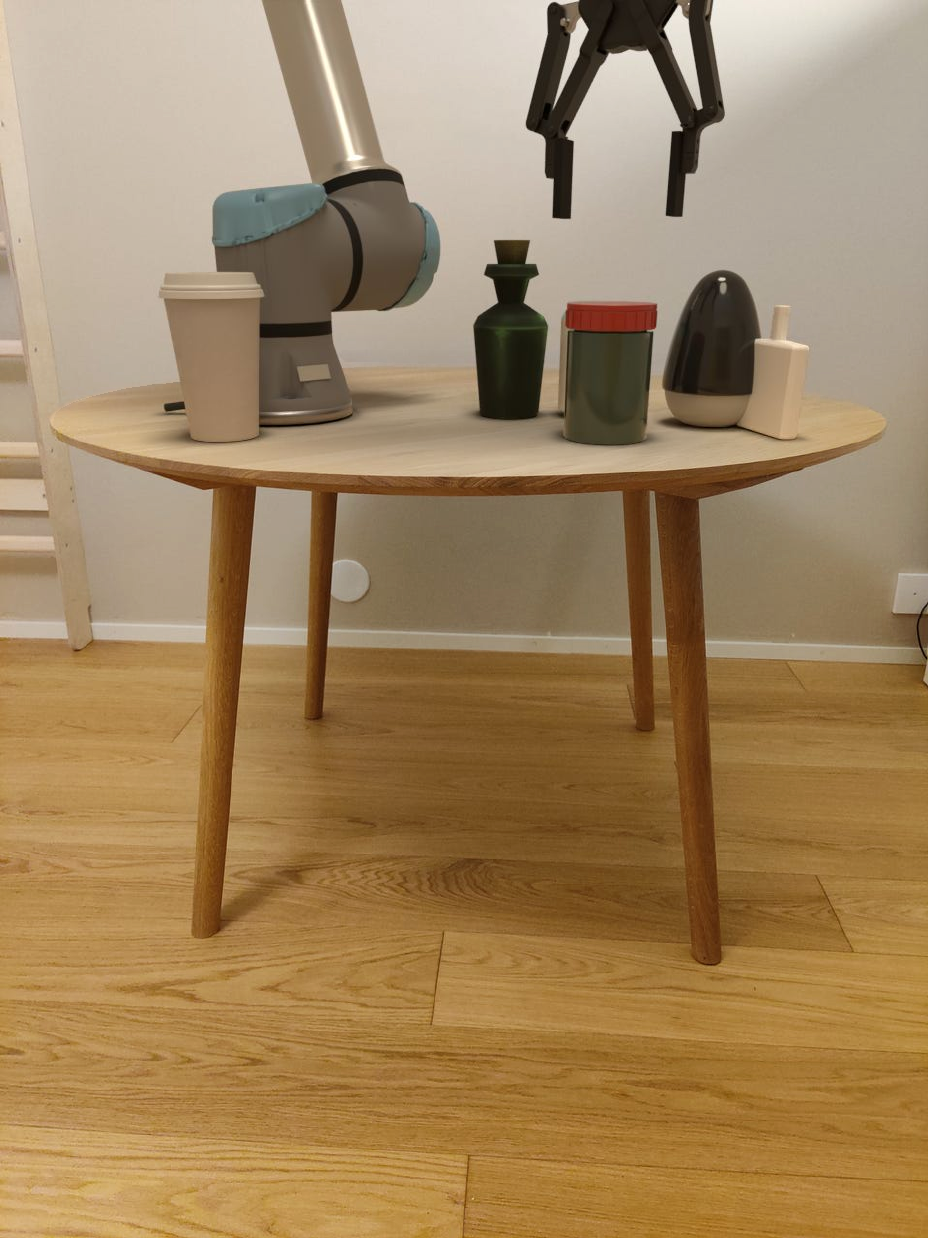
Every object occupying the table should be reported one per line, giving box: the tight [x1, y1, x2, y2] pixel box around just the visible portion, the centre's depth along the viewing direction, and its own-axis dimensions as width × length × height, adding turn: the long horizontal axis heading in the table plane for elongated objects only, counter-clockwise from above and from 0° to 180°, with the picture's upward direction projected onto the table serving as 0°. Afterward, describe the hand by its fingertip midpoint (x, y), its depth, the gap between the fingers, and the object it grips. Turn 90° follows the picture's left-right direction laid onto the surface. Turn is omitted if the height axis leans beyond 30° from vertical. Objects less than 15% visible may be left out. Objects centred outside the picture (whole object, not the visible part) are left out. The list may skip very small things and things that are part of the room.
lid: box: [565, 300, 658, 331], centre depth 86 cm, size 8×8×2 cm
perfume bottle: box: [735, 304, 810, 440], centre depth 90 cm, size 8×2×12 cm, turn 17°
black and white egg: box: [661, 269, 763, 428], centre depth 95 cm, size 10×10×15 cm
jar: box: [562, 329, 655, 446], centre depth 88 cm, size 8×8×12 cm
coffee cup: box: [158, 271, 264, 443], centre depth 87 cm, size 10×10×15 cm
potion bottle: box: [472, 239, 549, 420], centre depth 99 cm, size 8×8×18 cm
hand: (616, 217), depth 83 cm, fingers open, 10 cm apart
